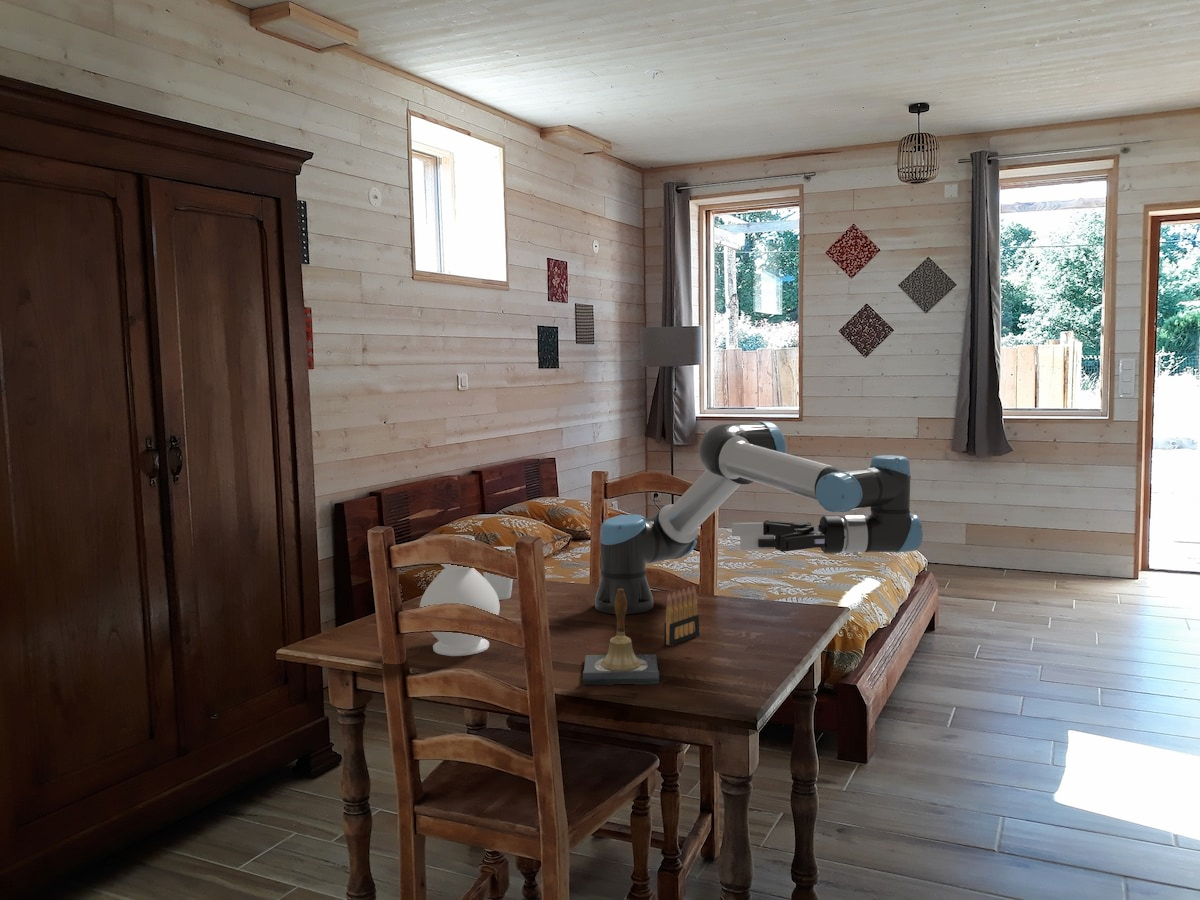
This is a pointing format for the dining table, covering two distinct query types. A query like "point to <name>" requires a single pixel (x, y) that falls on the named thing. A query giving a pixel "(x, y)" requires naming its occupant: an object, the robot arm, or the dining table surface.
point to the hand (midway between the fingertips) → (735, 535)
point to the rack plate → (620, 672)
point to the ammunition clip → (681, 617)
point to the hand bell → (620, 641)
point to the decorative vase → (461, 589)
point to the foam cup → (500, 582)
